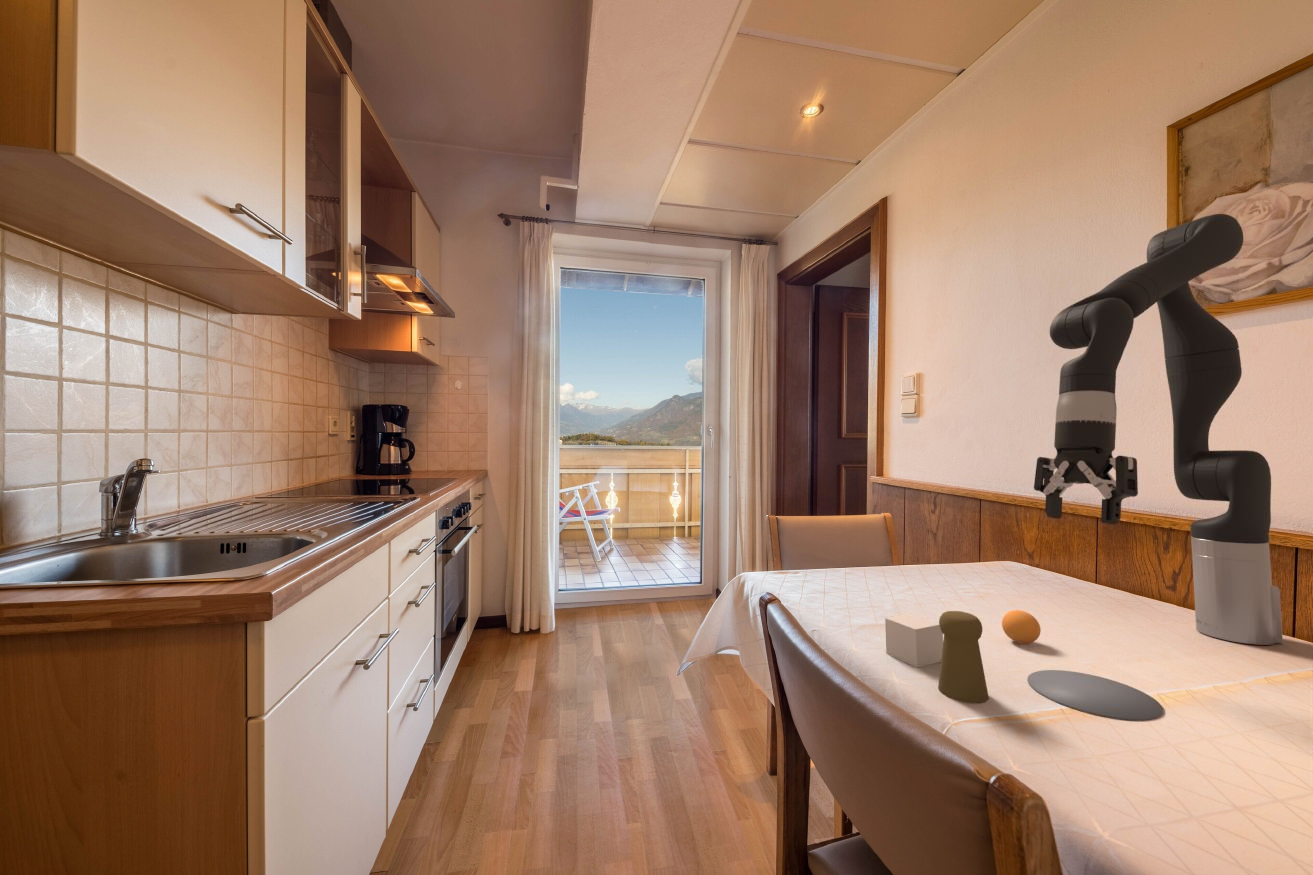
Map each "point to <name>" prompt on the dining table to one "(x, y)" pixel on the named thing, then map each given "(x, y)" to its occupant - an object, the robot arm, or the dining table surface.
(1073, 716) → the dining table surface
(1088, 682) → the disc
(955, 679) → the cork
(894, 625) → the grey cube
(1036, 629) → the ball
